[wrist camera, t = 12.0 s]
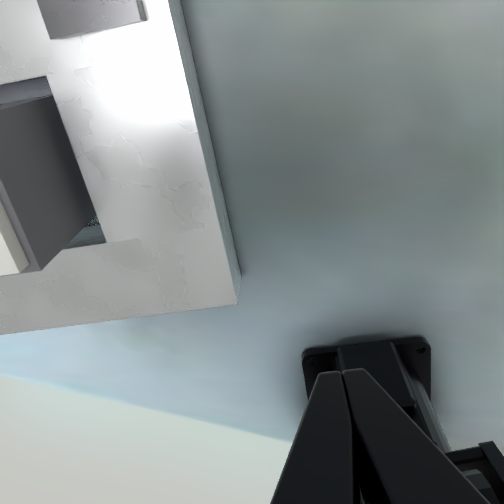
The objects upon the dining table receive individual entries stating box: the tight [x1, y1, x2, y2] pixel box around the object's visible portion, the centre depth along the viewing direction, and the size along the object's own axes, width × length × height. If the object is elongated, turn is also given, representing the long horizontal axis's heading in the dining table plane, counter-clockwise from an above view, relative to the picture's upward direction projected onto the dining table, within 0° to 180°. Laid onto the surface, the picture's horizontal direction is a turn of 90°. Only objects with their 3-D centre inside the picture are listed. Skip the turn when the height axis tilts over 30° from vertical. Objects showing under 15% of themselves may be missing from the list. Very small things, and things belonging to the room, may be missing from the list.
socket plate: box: [0, 0, 241, 335], centre depth 17 cm, size 14×13×3 cm
